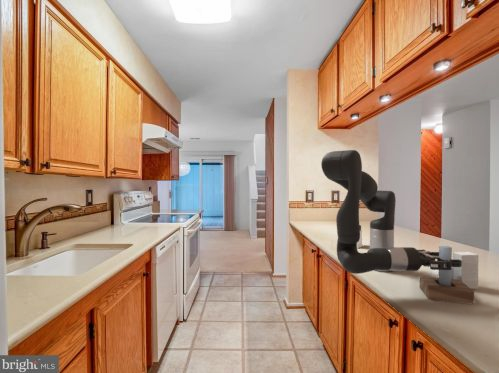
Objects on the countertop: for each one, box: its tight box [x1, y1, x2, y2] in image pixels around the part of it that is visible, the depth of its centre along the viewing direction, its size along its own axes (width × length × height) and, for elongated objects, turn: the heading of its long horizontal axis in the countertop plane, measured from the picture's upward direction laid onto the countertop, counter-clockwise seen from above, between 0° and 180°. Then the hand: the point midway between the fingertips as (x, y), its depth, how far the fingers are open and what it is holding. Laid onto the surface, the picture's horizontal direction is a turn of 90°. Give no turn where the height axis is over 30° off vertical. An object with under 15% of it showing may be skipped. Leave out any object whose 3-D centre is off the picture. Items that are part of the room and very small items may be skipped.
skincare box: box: [452, 251, 479, 290], centre depth 96 cm, size 6×4×12 cm
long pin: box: [438, 245, 453, 286], centre depth 90 cm, size 3×3×16 cm
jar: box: [357, 224, 363, 249], centre depth 153 cm, size 9×8×12 cm
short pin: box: [451, 267, 454, 279], centre depth 96 cm, size 3×3×7 cm
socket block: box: [418, 275, 475, 305], centre depth 90 cm, size 10×12×4 cm
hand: (451, 259), depth 89 cm, fingers open, 8 cm apart
